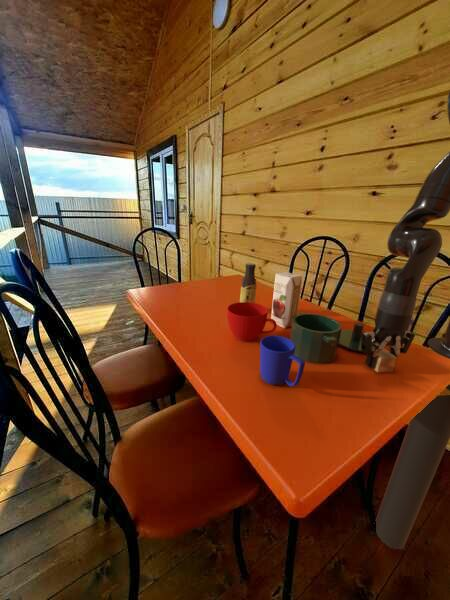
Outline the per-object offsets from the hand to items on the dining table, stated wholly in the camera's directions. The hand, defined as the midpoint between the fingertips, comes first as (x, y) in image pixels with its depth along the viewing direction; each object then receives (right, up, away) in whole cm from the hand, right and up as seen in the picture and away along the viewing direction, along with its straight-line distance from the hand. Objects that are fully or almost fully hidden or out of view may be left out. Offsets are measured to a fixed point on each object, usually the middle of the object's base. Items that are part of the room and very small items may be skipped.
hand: (379, 365), depth 70 cm
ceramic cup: (-34, +5, +14) cm, 37 cm away
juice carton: (-21, +9, +26) cm, 34 cm away
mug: (-29, -2, -7) cm, 30 cm away
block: (0, 0, 0) cm, 0 cm away
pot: (-16, +3, +8) cm, 18 cm away
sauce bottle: (-33, +14, +38) cm, 52 cm away
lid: (0, +5, +13) cm, 14 cm away
